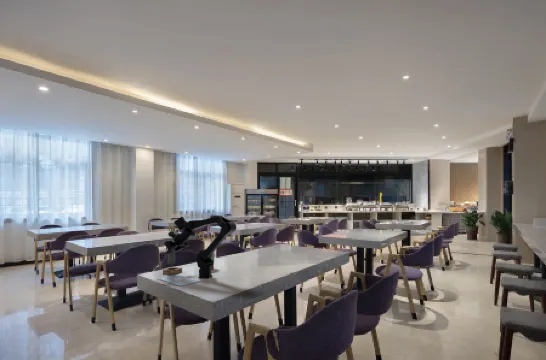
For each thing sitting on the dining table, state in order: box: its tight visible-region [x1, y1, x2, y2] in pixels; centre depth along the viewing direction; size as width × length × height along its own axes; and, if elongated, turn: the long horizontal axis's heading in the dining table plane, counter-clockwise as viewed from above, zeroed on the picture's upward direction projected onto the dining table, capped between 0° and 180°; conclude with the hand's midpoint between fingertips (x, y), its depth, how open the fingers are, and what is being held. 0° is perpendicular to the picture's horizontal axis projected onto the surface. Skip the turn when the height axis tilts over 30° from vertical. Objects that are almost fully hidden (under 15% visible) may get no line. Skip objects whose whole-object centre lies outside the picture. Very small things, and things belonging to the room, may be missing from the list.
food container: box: [205, 252, 216, 270], centre depth 208 cm, size 12×6×10 cm, turn 168°
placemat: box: [157, 274, 201, 287], centre depth 177 cm, size 24×13×1 cm, turn 48°
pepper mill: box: [167, 251, 176, 265], centre depth 196 cm, size 4×4×12 cm
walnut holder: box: [162, 266, 183, 275], centre depth 197 cm, size 8×8×2 cm
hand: (169, 253), depth 196 cm, fingers closed on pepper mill, 4 cm apart
